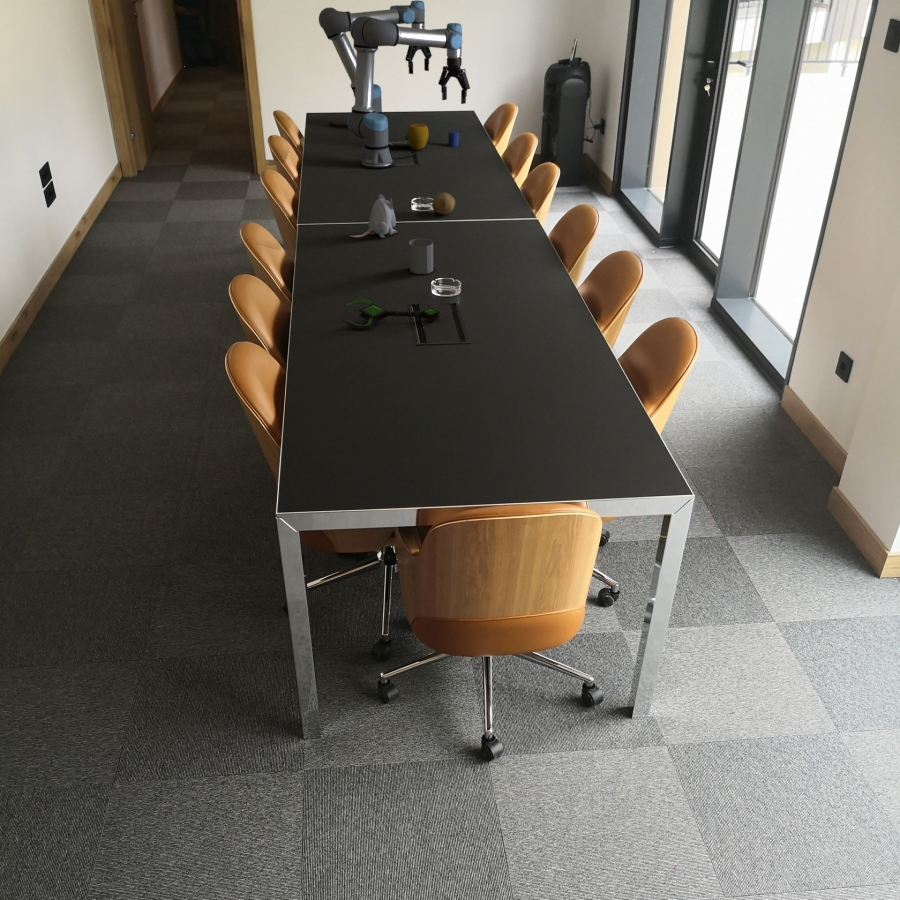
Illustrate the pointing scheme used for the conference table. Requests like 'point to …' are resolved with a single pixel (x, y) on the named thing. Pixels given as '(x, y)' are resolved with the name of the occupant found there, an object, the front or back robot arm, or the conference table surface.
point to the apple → (417, 136)
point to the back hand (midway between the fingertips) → (418, 72)
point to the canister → (453, 138)
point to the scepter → (386, 313)
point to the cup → (421, 256)
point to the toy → (381, 218)
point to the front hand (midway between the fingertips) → (453, 101)
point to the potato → (443, 203)
